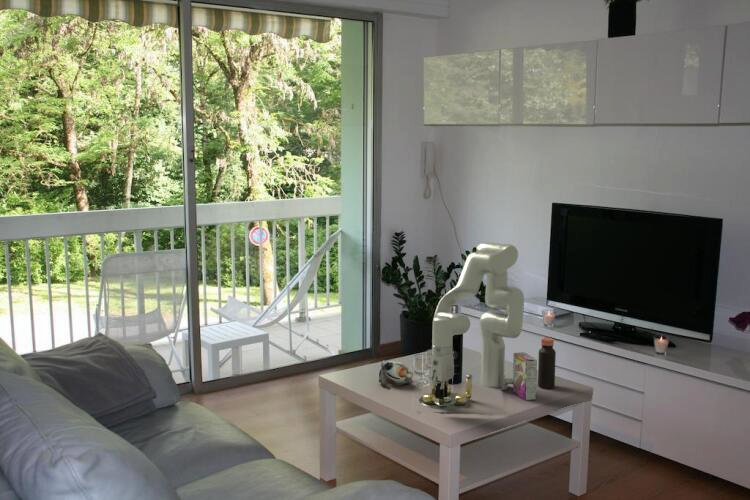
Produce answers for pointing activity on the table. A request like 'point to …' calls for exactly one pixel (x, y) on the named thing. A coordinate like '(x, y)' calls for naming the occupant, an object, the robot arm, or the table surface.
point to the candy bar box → (524, 376)
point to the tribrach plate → (446, 403)
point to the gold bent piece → (463, 398)
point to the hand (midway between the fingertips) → (441, 397)
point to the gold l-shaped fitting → (432, 398)
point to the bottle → (546, 364)
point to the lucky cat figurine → (394, 374)
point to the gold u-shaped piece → (435, 390)
